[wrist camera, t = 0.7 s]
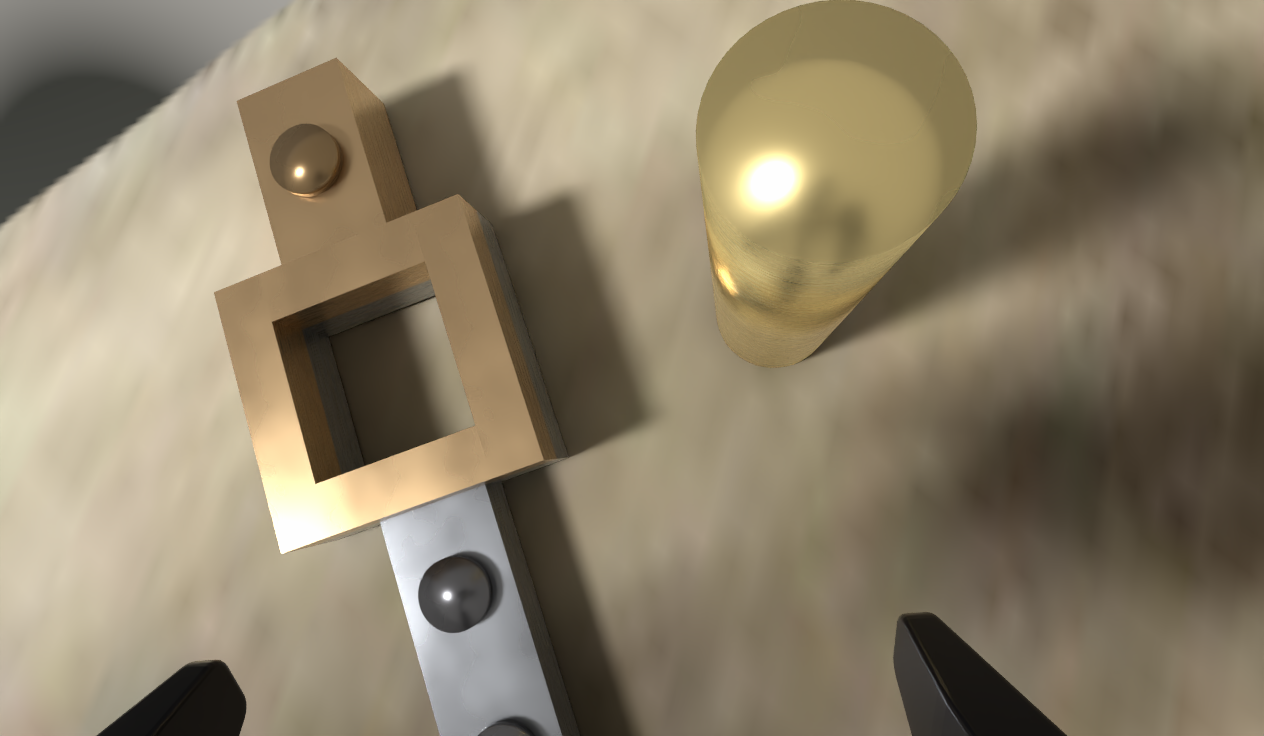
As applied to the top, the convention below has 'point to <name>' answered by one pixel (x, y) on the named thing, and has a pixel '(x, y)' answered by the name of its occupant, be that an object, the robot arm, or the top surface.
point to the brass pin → (824, 166)
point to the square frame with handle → (319, 415)
